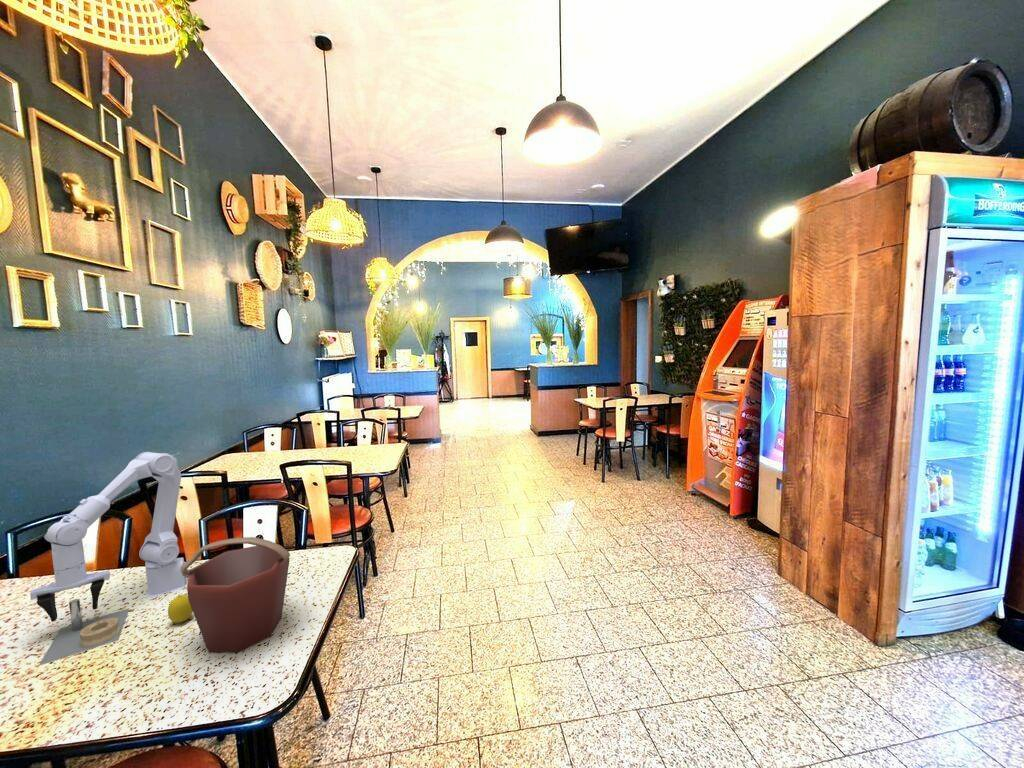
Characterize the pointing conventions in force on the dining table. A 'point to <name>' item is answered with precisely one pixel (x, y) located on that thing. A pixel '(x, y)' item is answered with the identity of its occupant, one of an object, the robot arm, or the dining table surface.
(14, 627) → the dining table surface
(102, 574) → the robot arm
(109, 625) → the maple bead
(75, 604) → the steel peg
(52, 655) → the mat
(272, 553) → the bucket
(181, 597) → the lemon
